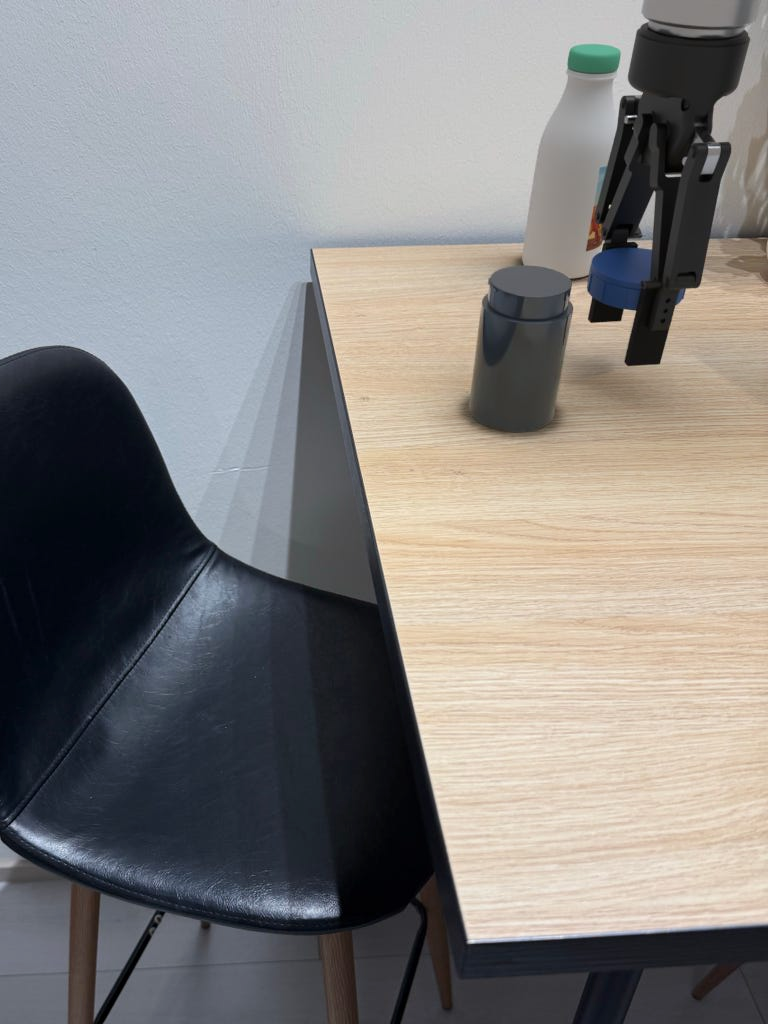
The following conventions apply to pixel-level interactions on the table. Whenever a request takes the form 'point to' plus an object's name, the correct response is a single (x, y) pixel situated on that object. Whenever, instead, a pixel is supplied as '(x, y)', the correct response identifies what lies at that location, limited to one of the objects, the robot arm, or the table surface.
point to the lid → (621, 276)
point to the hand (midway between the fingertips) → (622, 340)
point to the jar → (520, 348)
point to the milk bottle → (573, 166)
